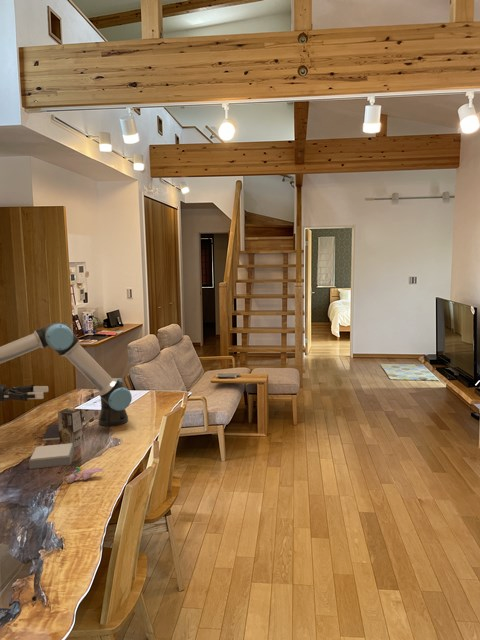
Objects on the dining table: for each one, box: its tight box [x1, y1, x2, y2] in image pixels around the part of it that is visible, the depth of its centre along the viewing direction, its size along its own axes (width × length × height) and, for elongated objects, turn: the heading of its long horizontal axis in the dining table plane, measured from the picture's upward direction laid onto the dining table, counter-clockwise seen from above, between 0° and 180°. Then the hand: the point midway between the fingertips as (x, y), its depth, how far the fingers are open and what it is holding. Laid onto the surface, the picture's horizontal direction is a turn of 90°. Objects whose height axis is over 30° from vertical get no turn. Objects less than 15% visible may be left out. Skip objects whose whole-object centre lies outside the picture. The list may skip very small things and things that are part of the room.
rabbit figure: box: [62, 466, 104, 484], centre depth 197 cm, size 6×6×15 cm
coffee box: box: [57, 408, 85, 448], centre depth 237 cm, size 9×6×16 cm
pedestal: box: [28, 443, 75, 470], centre depth 218 cm, size 16×16×4 cm
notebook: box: [41, 424, 60, 442], centre depth 255 cm, size 13×2×21 cm
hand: (46, 392), depth 233 cm, fingers open, 13 cm apart
